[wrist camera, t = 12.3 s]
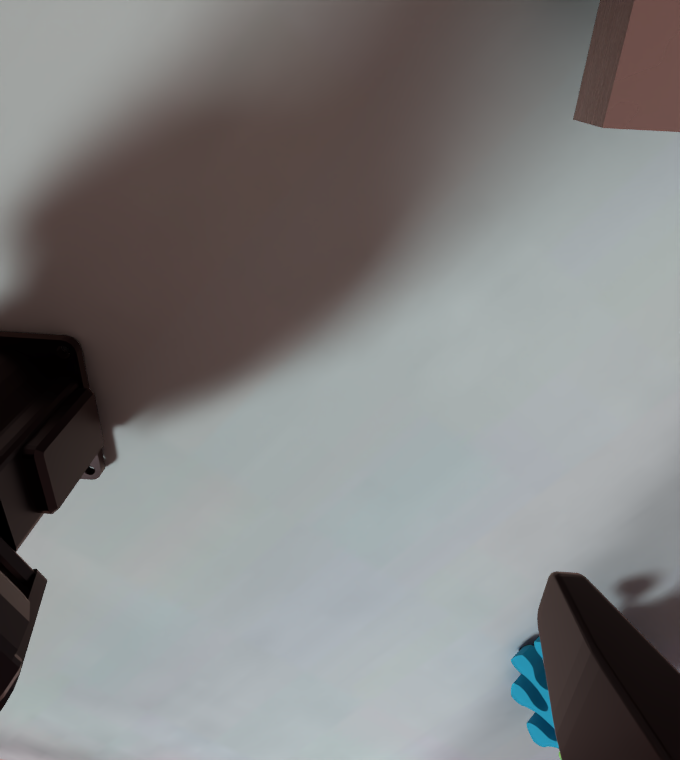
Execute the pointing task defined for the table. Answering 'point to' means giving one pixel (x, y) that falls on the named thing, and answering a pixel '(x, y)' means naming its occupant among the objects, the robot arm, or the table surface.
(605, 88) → the gold disc and bars
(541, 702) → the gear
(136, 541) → the table surface
